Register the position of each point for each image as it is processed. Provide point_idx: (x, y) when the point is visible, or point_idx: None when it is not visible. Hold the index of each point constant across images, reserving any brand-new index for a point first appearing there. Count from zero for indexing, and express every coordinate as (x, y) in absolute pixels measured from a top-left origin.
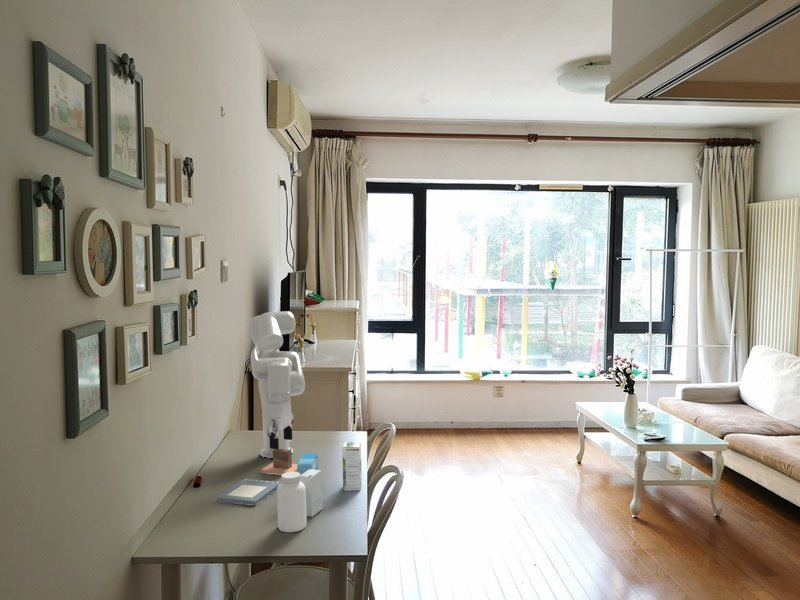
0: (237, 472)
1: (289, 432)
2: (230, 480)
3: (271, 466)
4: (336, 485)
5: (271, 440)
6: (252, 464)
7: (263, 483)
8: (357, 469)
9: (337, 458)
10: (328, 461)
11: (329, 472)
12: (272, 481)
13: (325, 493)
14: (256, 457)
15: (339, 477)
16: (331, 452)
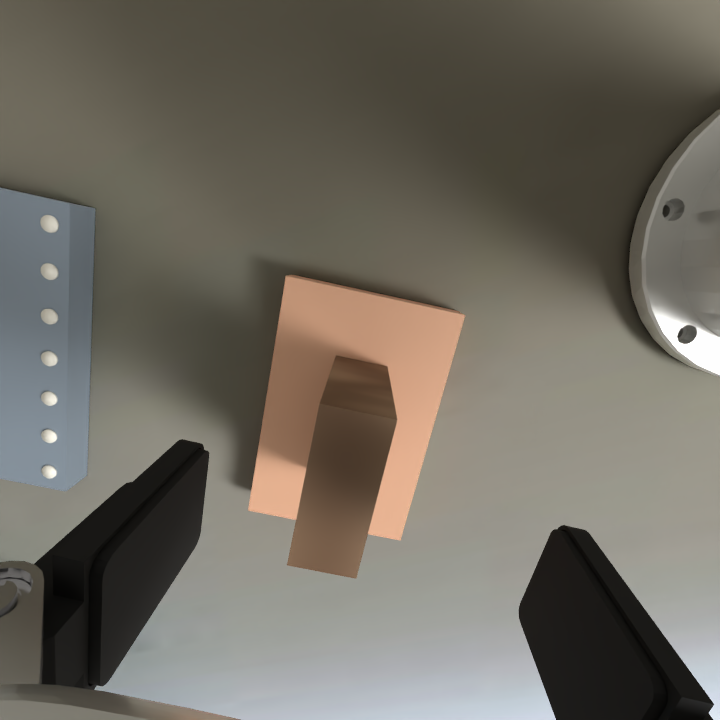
0: (308, 38)
1: (569, 716)
2: (124, 54)
3: (357, 332)
4: None
5: (50, 566)
6: (508, 107)
7: (17, 383)
8: None
9: None
10: None
11: (338, 660)
12: (64, 432)
13: None
14: (702, 72)
15: (268, 710)
16: (701, 615)
